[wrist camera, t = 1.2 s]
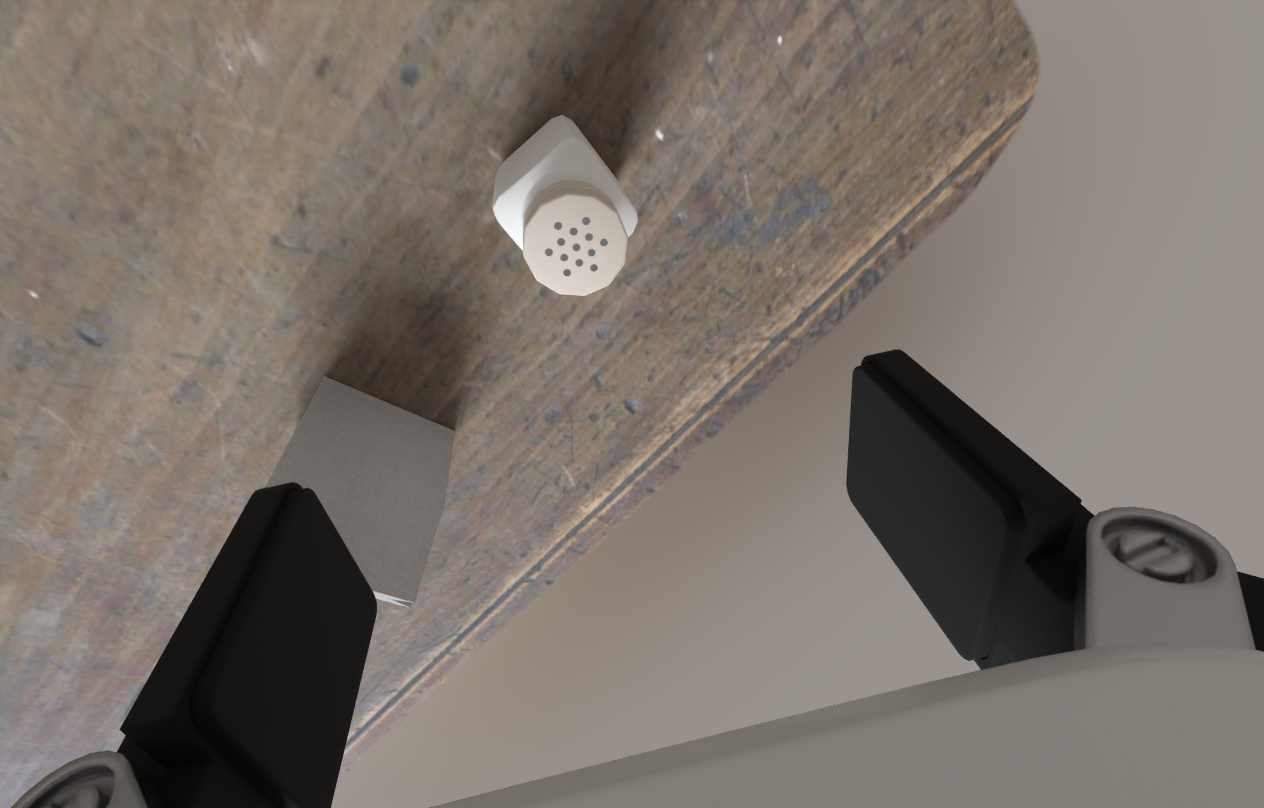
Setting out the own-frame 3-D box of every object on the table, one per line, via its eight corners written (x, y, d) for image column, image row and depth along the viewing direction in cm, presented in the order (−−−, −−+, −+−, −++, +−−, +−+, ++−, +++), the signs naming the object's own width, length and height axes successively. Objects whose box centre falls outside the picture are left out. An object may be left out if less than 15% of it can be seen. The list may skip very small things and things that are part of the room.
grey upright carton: (324, 376, 29) (248, 518, 21) (454, 430, 32) (434, 575, 24) (296, 431, 30) (214, 585, 22) (424, 479, 33) (394, 632, 25)
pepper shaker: (489, 171, 25) (479, 239, 18) (562, 106, 25) (585, 147, 17) (552, 242, 27) (568, 332, 20) (621, 185, 27) (667, 254, 19)
